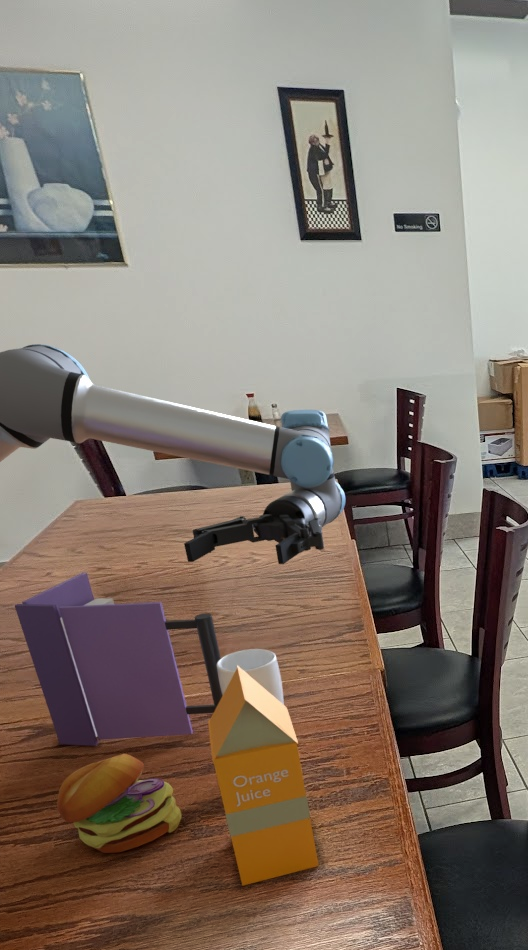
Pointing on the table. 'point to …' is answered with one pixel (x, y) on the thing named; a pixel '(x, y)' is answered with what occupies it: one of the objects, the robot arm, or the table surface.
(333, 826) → the table surface
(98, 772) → the cheeseburger
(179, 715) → the folder cover
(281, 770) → the orange juice
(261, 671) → the drinking glass
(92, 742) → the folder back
